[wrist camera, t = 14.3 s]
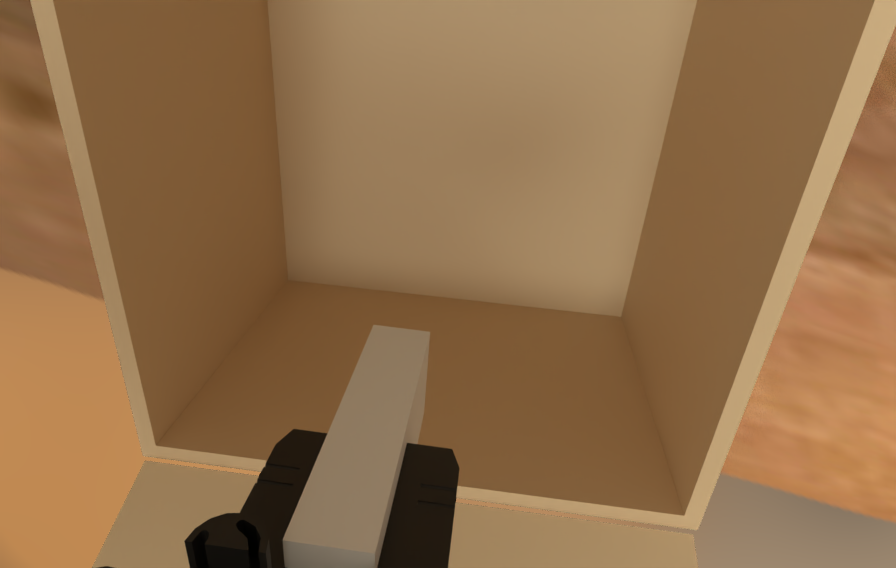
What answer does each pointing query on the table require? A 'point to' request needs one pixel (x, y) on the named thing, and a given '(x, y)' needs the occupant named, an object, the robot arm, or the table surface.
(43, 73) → the table surface
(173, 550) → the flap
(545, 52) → the carton
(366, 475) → the robot arm
